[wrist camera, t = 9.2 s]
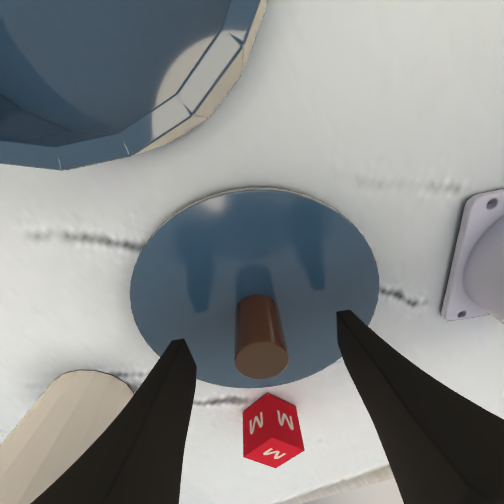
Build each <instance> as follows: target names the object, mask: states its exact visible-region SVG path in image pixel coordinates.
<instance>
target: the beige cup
mask: <svg viewBox="0 0 504 504" xmlns="http://www.w3.org/2000/svg"><path fill="white" fill-rule="evenodd" d="M133 395H134V394H133V392H132V391H131V389H130V388H129V387H128V386H127V384H126V383H124V382H122V381H121V380H119V379H117V378H116V377H114V376H112V375H108V374H105V373H101V372H98V371H84V370H78V371H74V372H69V373H65V374H63V375H61V376H60V377H59V378H57V379H56V380H54V381H53V383H52V384H51V385H50V386H49V387H48V389H47V390H46V391H45V392H44V393H43V394H42V396H41V397H40V398H39V399H38V400H37V402H36V403H35V404H34V405H33V406H32V408H31V409H30V410H29V411H28V412H27V414H26V415H25V416H24V417H23V418H22V419H21V421H20V422H19V423H18V424H17V425H16V427H15V428H14V429H13V430H12V431H11V433H10V434H9V435H8V436H7V437H6V439H5V440H4V441H3V442H2V443H1V444H0V504H30V503H32V502H33V501H34V500H35V499H36V498H37V497H38V496H40V495H41V494H42V493H43V492H44V491H45V490H46V489H47V488H48V487H49V486H50V485H52V484H53V483H54V482H55V481H56V480H57V479H58V478H59V477H60V476H61V475H62V474H63V473H64V472H65V471H66V470H67V469H68V468H69V467H70V466H71V465H72V464H73V463H74V462H75V461H76V460H77V459H78V458H79V457H80V456H81V455H82V454H83V453H84V452H85V451H86V450H87V449H88V448H89V447H90V446H91V445H92V444H93V443H94V442H95V441H96V440H97V438H98V437H99V436H100V435H101V434H102V433H103V432H104V431H105V430H106V429H107V427H108V426H109V425H110V424H111V423H112V422H113V420H114V419H115V418H116V417H117V416H118V415H119V413H120V412H121V411H122V410H123V408H124V407H125V406H126V405H127V403H128V402H129V401H130V399H131V398H132V397H133Z"/></svg>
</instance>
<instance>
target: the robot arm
mask: <svg viewBox="0 0 504 504" xmlns="http://www.w3.org/2000/svg"><path fill="white" fill-rule="evenodd" d="M490 200H491V201H490ZM489 201H490V203H489V204H488V205H487V203H488V202H489ZM486 205H487V206H486ZM485 315H492V316H494V317H495V318H496V319H498V320H499V321H500V322H502V323H503V324H504V189H501V190H495V191H490V192H485V193H480V194H476V195H473V196H472V197H471V198H469V200H468V201H467V202H466V204H465V208H464V212H463V217H462V221H461V226H460V230H459V235H458V239H457V244H456V248H455V253H454V257H453V262H452V266H451V271H450V275H449V280H448V284H447V289H446V293H445V298H444V302H443V307H442V311H441V316H442V317H443V318H444V319H445V320H446V321H456V320H462V319H467V318H473V317H479V316H485ZM336 319H337V343H338V346H339V349H340V352H341V354H342V357H343V360H344V363H345V365H346V367H347V369H348V371H349V373H350V376H351V378H352V380H353V382H354V384H355V386H356V388H357V390H358V392H359V394H360V396H361V398H362V400H363V402H364V404H365V406H366V408H367V410H368V412H369V414H370V417H371V419H372V421H373V423H374V425H375V428H376V430H377V433H378V436H379V438H380V441H381V443H382V446H383V448H384V451H385V453H386V456H387V459H388V461H389V464H390V467H391V469H392V472H393V475H394V477H395V480H396V482H397V485H398V488H399V491H400V494H401V496H402V499H403V502H404V504H504V420H503V419H502V418H500V417H498V416H496V415H494V414H492V413H490V412H489V411H487V410H485V409H483V408H482V407H480V406H478V405H476V404H475V403H473V402H471V401H470V400H468V399H466V398H465V397H463V396H461V395H459V394H458V393H456V392H454V391H453V390H451V389H450V388H448V387H447V386H445V385H443V384H442V383H440V382H439V381H437V380H436V379H434V378H433V377H431V376H430V375H428V374H427V373H425V372H424V371H423V370H421V369H420V368H418V367H417V366H416V365H414V364H413V363H412V362H410V361H409V360H408V359H406V358H405V357H404V356H402V355H401V354H400V353H399V352H397V351H396V350H395V349H394V348H392V347H391V346H390V345H389V344H388V343H386V342H385V341H384V340H383V339H382V338H380V337H379V336H378V335H377V334H376V333H375V332H374V331H372V330H371V329H370V328H369V327H368V326H367V325H366V324H365V323H364V322H363V321H362V320H361V319H360V318H358V317H357V316H356V315H355V314H354V313H353V312H352V311H351V310H344V311H338V312H336ZM196 373H197V366H196V363H195V361H194V359H193V357H192V354H191V352H190V350H189V348H188V346H187V343H186V341H185V339H184V338H183V339H177V340H172V341H171V342H170V344H169V345H168V347H167V348H166V350H165V351H164V353H163V354H162V356H161V357H160V359H159V360H158V362H157V363H156V365H155V366H154V367H153V369H152V370H151V372H150V373H149V375H148V376H147V378H146V379H145V380H144V382H143V383H142V385H141V386H140V387H139V389H138V390H137V391H136V393H135V394H134V395H133V397H132V398H131V399H130V401H129V402H128V403H127V405H126V406H125V407H124V408H123V410H122V411H121V412H120V413H119V415H118V416H117V417H116V418H115V419H114V420H113V422H112V423H111V424H110V425H109V426H108V427H107V429H106V430H105V431H104V432H103V433H102V434H101V435H100V436H99V437H98V438H97V440H96V441H95V442H94V443H93V444H92V445H91V446H90V447H89V448H88V449H87V450H86V451H85V452H84V453H83V454H82V455H81V456H80V457H79V458H78V459H77V460H76V461H75V462H74V463H73V464H72V465H71V466H70V467H69V468H68V469H67V470H66V471H65V472H64V473H63V474H62V475H61V476H60V477H59V478H58V479H57V480H56V481H55V482H54V483H53V484H52V485H50V486H49V487H48V488H47V489H46V490H45V491H44V492H43V493H42V494H41V495H40V496H38V497H37V498H36V499H35V500H34V501H33V502H32V503H30V504H179V494H180V483H181V473H182V463H183V454H184V448H185V441H186V436H187V431H188V426H189V420H190V415H191V410H192V405H193V399H194V394H195V387H196Z"/></svg>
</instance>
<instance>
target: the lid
mask: <svg viewBox="0 0 504 504" xmlns="http://www.w3.org/2000/svg"><path fill="white" fill-rule="evenodd" d="M378 293H379V275H378V270H377V264H376V261H375V258H374V256H373V253H372V250H371V248H370V247H369V245H368V243H367V241H366V240H365V238H364V236H363V235H362V234H361V233H360V232H359V231H358V229H357V228H356V227H355V226H354V225H353V224H352V223H351V222H350V221H349V220H348V219H346V218H345V217H344V216H343V215H342V214H341V213H339V212H338V211H337V210H335V209H334V208H332V207H330V206H329V205H327V204H325V203H324V202H322V201H320V200H317V199H315V198H313V197H310V196H308V195H305V194H301V193H298V192H294V191H290V190H285V189H277V188H269V187H251V188H242V189H234V190H228V191H224V192H221V193H217V194H214V195H210V196H208V197H205V198H203V199H201V200H198V201H196V202H194V203H192V204H190V205H188V206H187V207H185V208H183V209H182V210H180V211H178V212H177V213H175V214H174V215H173V216H172V217H170V218H169V219H168V220H167V221H166V222H164V223H163V224H162V225H161V226H160V227H159V228H158V230H157V231H156V232H155V233H154V234H153V235H152V236H151V238H150V239H149V240H148V242H147V243H146V245H145V247H144V248H143V250H142V251H141V253H140V255H139V257H138V259H137V262H136V264H135V266H134V270H133V274H132V278H131V286H130V300H131V309H132V313H133V316H134V320H135V322H136V325H137V327H138V329H139V331H140V333H141V335H142V336H143V338H144V339H145V341H146V342H147V344H148V345H149V346H150V347H151V348H152V349H153V351H154V352H155V353H156V354H157V355H159V356H160V357H161V356H162V354H163V353H164V351H165V350H166V348H167V347H168V345H169V344H170V342H171V341H172V340H177V339H183V338H184V339H185V341H186V343H187V346H188V348H189V350H190V352H191V354H192V357H193V359H194V361H195V363H196V366H197V373H196V379H198V380H201V381H205V382H208V383H211V384H216V385H220V386H226V387H234V388H263V387H271V386H277V385H282V384H287V383H290V382H294V381H297V380H300V379H303V378H305V377H308V376H310V375H313V374H315V373H317V372H319V371H321V370H323V369H324V368H326V367H328V366H329V365H331V364H332V363H334V362H335V361H337V360H338V359H339V358H340V357H342V354H341V352H340V349H339V346H338V343H337V319H336V312H338V311H344V310H351V311H352V312H353V313H354V314H355V315H356V316H357V317H358V318H360V319H361V320H362V321H363V322H364V323H365V324H366V325H367V326H368V325H369V323H370V321H371V319H372V316H373V314H374V311H375V308H376V304H377V300H378Z"/></svg>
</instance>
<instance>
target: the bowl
mask: <svg viewBox="0 0 504 504" xmlns="http://www.w3.org/2000/svg"><path fill="white" fill-rule="evenodd" d="M267 2H268V0H0V164H9V165H17V166H26V167H35V168H44V169H53V170H70V169H75V168H79V167H84V166H89V165H93V164H98V163H103V162H107V161H112V160H117V159H121V158H126V157H131V156H134V155H136V154H139V153H142V152H145V151H148V150H151V149H154V148H157V147H160V146H163V145H166V144H169V143H171V142H172V141H174V140H175V139H177V138H178V137H180V136H182V135H184V134H185V133H187V132H188V131H190V130H191V129H193V128H194V127H196V126H197V125H199V124H200V123H202V122H203V121H205V120H206V119H208V117H209V116H211V114H212V113H213V112H214V110H215V109H216V108H217V107H218V105H219V104H220V103H221V102H222V101H223V99H224V98H225V97H226V96H227V95H228V93H229V92H230V90H231V88H232V87H233V85H234V84H235V83H236V81H237V80H238V79H239V77H240V76H241V73H242V72H243V70H244V68H245V65H246V62H247V59H248V57H249V55H250V53H251V50H252V47H253V44H254V41H255V38H256V35H257V33H258V30H259V27H260V25H261V22H262V19H263V17H264V14H265V10H266V6H267Z"/></svg>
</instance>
